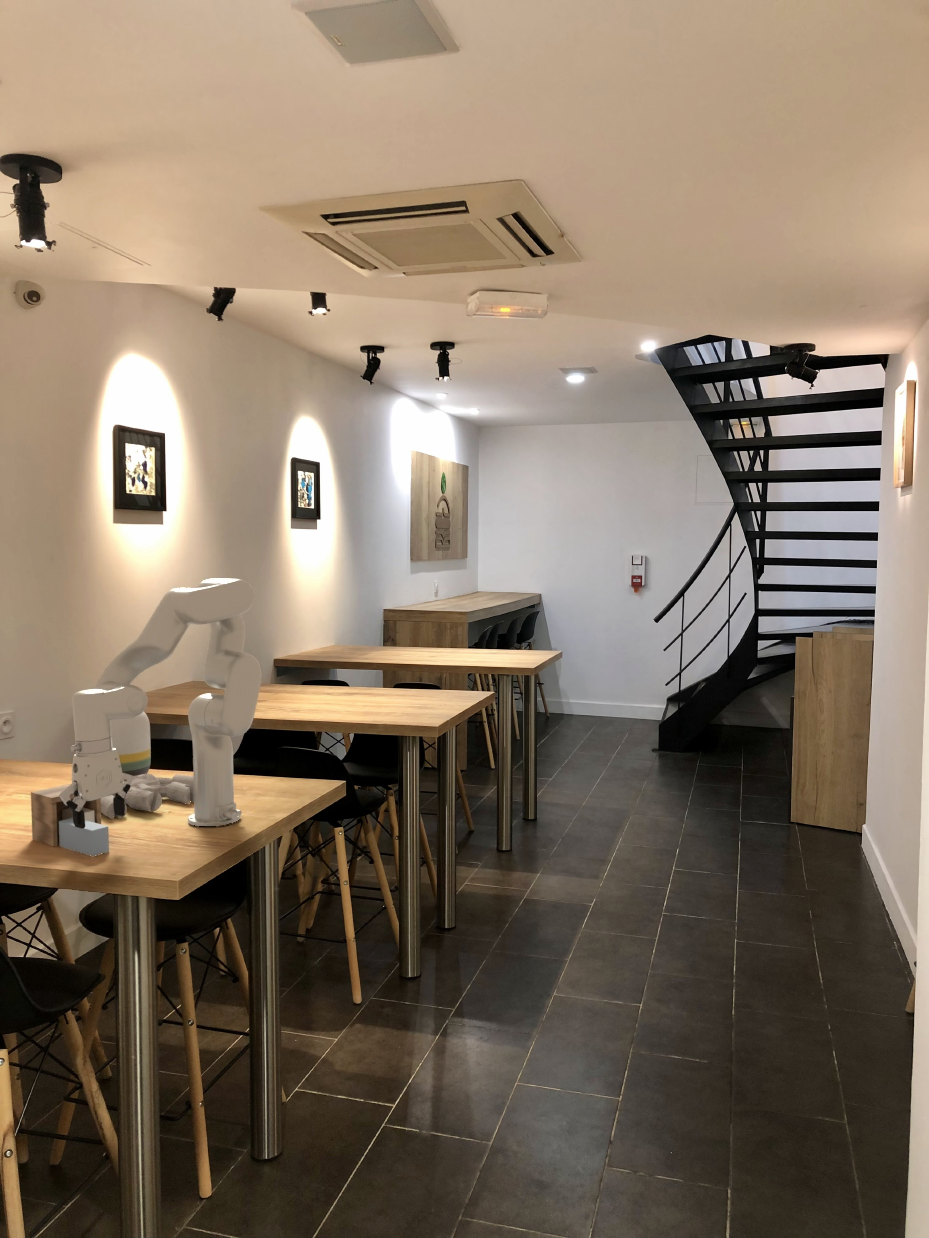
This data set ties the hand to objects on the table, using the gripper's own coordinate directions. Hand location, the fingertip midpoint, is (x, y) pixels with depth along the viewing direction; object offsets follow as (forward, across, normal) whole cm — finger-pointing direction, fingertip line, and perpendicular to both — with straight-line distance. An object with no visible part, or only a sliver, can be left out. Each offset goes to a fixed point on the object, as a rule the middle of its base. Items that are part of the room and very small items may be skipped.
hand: (100, 821), depth 207 cm
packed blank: (+7, +4, +16) cm, 17 cm away
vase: (+9, +42, +57) cm, 71 cm away
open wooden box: (+7, +1, +16) cm, 17 cm away
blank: (+7, -2, +4) cm, 8 cm away
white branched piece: (+9, +30, +32) cm, 45 cm away
